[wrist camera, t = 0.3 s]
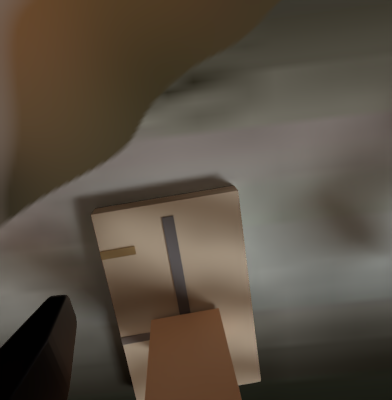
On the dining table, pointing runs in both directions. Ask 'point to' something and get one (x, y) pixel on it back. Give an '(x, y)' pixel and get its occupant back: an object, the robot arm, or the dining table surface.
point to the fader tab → (190, 359)
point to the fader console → (178, 271)
